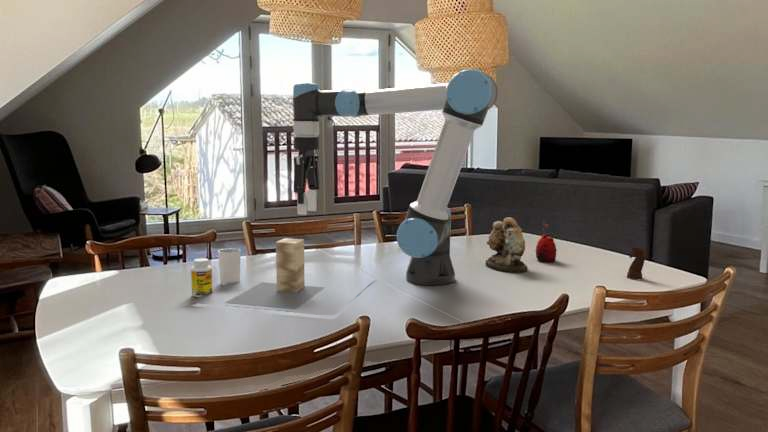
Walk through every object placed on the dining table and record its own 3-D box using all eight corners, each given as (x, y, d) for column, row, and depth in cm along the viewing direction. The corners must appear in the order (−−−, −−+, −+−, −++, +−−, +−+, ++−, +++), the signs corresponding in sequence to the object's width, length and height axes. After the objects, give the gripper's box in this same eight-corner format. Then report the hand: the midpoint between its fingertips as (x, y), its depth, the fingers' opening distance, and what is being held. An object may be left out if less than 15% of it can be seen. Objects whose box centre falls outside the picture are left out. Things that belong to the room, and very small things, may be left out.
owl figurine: (474, 263, 219) (476, 214, 217) (501, 260, 225) (503, 212, 222) (508, 274, 204) (510, 222, 201) (536, 270, 209) (538, 220, 207)
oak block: (304, 286, 184) (304, 239, 182) (296, 292, 178) (295, 243, 176) (285, 284, 186) (285, 238, 184) (276, 290, 180) (275, 242, 178)
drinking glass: (245, 281, 193) (245, 249, 191) (233, 286, 186) (232, 253, 185) (226, 279, 195) (225, 247, 193) (214, 284, 188) (213, 251, 187)
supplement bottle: (195, 299, 174) (194, 262, 172) (189, 294, 178) (188, 258, 177) (215, 296, 177) (214, 260, 175) (209, 291, 181) (207, 256, 180)
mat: (325, 290, 184) (325, 287, 184) (295, 312, 163) (295, 309, 163) (262, 284, 189) (262, 282, 189) (225, 305, 168) (225, 302, 168)
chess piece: (630, 275, 204) (632, 244, 203) (646, 278, 201) (648, 247, 199) (624, 277, 201) (626, 247, 199) (640, 280, 197) (642, 249, 196)
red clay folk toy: (560, 261, 223) (562, 219, 221) (546, 264, 219) (549, 221, 217) (543, 257, 229) (545, 216, 227) (530, 259, 225) (532, 218, 223)
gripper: (307, 135, 198) (308, 207, 202) (280, 137, 179) (281, 216, 183) (329, 135, 196) (330, 208, 200) (305, 137, 177) (306, 218, 181)
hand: (307, 212), depth 191 cm, fingers open, 7 cm apart
